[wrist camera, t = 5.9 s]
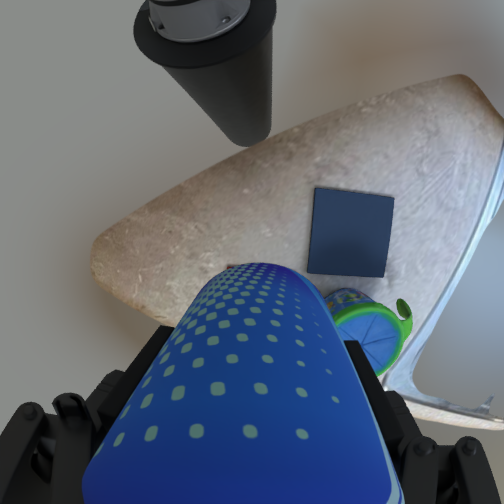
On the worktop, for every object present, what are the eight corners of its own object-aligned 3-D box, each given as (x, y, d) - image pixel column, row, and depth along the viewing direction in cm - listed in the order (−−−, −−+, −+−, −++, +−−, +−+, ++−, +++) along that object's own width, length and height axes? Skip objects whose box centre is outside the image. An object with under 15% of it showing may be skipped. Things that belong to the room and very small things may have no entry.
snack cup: (294, 351, 39) (299, 397, 29) (283, 287, 37) (287, 323, 27) (392, 330, 38) (419, 367, 28) (391, 266, 35) (425, 291, 25)
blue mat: (314, 187, 34) (315, 187, 33) (392, 197, 33) (394, 198, 33) (306, 271, 36) (307, 273, 36) (382, 276, 36) (383, 277, 35)
